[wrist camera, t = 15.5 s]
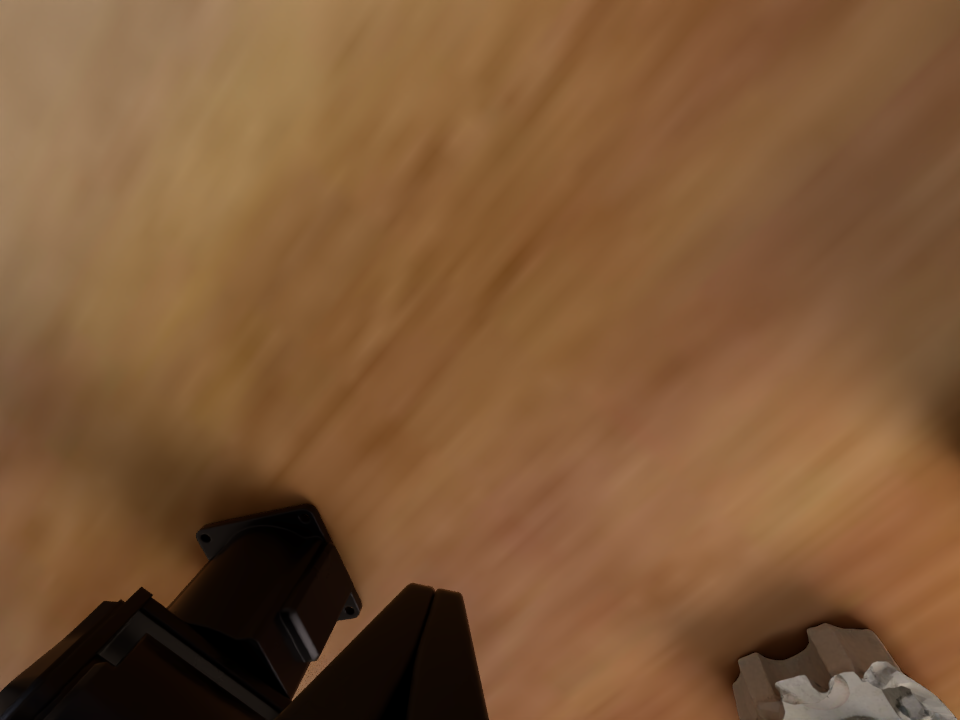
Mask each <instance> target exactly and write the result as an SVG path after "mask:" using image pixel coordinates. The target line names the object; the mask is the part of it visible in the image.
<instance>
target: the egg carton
mask: <svg viewBox="0 0 960 720" xmlns="http://www.w3.org/2000/svg"><path fill="white" fill-rule="evenodd" d="M807 634H808V638H809V644H808V646H807V647H806V649H805V650H804V651H802V652H800V653H799V654H797V655H795V656H793V657H791V658H788V659H786V660H772V659H768V658H765V657H763V656H762V655H760V654H759V653H752V654H750V655H748V656H745V657H743V658H740V659H739V660H738V664H739V667H740V672H741V673H740V675H739V677H738V679H737V681H736V682H734V683H733V692H734V697H735V700H736V706H737V711H738V715H739V719H740V720H957V719H956V717H955V716H954V715H953V714H952V713H951V711H950V710H949V709H948V708H947V707H946V706H945V705H944V704H943V703H942V702H941V700H940V699H939V698H938V697H937V696H935V695H934V694H933V693H931V692H930V691H929V690H927V689H926V688H925V687H923V686H922V685H920V684H918V683H917V682H915V681H914V680H912V679H911V678H910V677H907V676H906V675H904V674H903V673H902V671H901V670H900V668H899V667H898V665H897V664H896V662H895V661H894V659H893V658H892V656H891V655H890V654H889V652H888V651H887V649H886V648H885V646H884V645H883V643H882V642H881V641H880V639H879V638H878V637H877V635H876V634H875V633H874V632H873V631H871V630H870V629H864V630H860V629H843V628H839V627H836V626H833V625H831V624H827V623H823V624H821V625H819V626H817V627H812V628H809V629H807Z"/></svg>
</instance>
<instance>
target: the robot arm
mask: <svg viewBox="0 0 960 720" xmlns="http://www.w3.org/2000/svg"><path fill="white" fill-rule="evenodd" d="M304 514H306V515H308V516H309V517H306V516H305V515H304ZM196 538H197V541H198V542H199V544H200V546H201V548H202V549H203V551H204V553H205V555H206V556H207V558H208V560H209V561H208V562H207V564H206V565H205V566H204V567H203V568H202V569H201V570H200V571H199V573H198V574H197V575H196V576H195V577H194V578H193V579H192V580H191V582H190V583H189V584H188V585H187V586H186V587H185V588H184V589H183V590H182V592H181V593H180V594H179V595H178V596H177V597H176V598H175V599H174V601H173V602H172V603H171V604H170V605H169V606H168V607H167V608H165V607H164V606H162V605H161V604H160V603H158V602H157V601H156V600H154V599H153V598H152V596H153V595H152V594H151V593H150V592H148V591H147V590H146V589H144V588H143V587H141V588H140V589H139V590H138V591H136V592H135V593H134V594H133V595H132V596H131V597H130V598H129V599H128V600H127V601H126V602H124V601H123V600H119V601H118V602H110V601H103V602H102V603H101V604H100V605H99V606H98V607H97V608H96V609H95V610H94V611H93V612H92V613H91V614H90V615H89V616H88V617H87V618H86V619H85V620H83V621H82V622H81V623H80V624H79V625H78V626H77V627H76V628H75V629H74V630H73V631H72V632H71V633H70V634H68V635H67V636H66V637H65V638H64V639H63V640H62V641H60V642H59V643H58V644H57V645H56V646H54V647H53V648H52V649H51V650H49V651H48V652H47V653H46V654H44V655H43V656H42V657H41V658H40V659H38V660H37V661H36V662H35V663H33V664H32V665H31V666H30V667H28V668H27V669H26V670H25V671H24V672H22V673H21V674H20V675H19V676H17V677H16V678H15V679H14V680H13V681H11V682H10V683H9V684H8V685H7V686H6V687H5V688H4V689H3V690H2V691H1V692H0V720H489V718H488V713H487V708H486V704H485V699H484V694H483V689H482V685H481V680H480V675H479V671H478V666H477V661H476V657H475V652H474V647H473V642H472V638H471V633H470V628H469V624H468V619H467V614H466V609H465V605H464V600H463V596H462V595H461V593H459V592H455V591H450V590H445V589H437V590H436V592H435V590H434V588H433V587H430V586H425V585H420V584H415V583H411V584H409V585H407V586H406V587H405V588H404V589H403V590H402V591H401V592H400V593H399V594H398V595H397V596H396V597H395V598H394V599H393V600H392V601H391V602H390V603H389V604H388V605H387V606H386V607H385V608H384V609H383V610H382V611H381V612H380V613H379V614H378V615H377V616H376V617H375V618H374V619H373V620H372V621H371V622H370V624H369V625H368V626H367V627H366V628H365V629H364V630H363V631H362V632H361V633H360V634H359V635H358V636H357V637H356V638H355V639H354V640H353V641H352V642H351V643H350V644H349V645H348V646H347V647H346V648H345V649H344V650H343V651H342V652H341V653H340V654H339V655H338V656H337V657H336V658H335V659H334V660H333V661H332V662H331V663H330V664H329V665H328V666H327V667H326V668H325V669H324V670H323V671H322V672H321V673H320V674H319V675H318V676H317V677H316V678H315V679H314V680H313V681H312V682H311V683H310V684H309V685H308V686H307V687H306V688H305V689H304V690H303V691H302V692H301V693H300V694H299V695H298V696H297V697H296V698H295V699H294V700H293V701H291V700H292V698H293V696H294V694H295V692H296V690H297V688H298V686H299V684H300V682H301V680H302V678H303V676H304V674H305V672H306V670H307V668H308V666H309V664H310V662H311V661H317V659H318V658H319V656H320V654H321V652H322V650H323V648H324V646H325V644H326V642H327V640H328V638H329V636H330V634H331V632H332V630H333V628H334V626H335V624H336V622H337V621H339V620H346V619H352V618H356V617H357V616H358V615H359V613H360V611H361V609H362V603H361V601H360V598H359V596H358V594H357V592H356V590H355V588H354V586H353V583H352V581H351V579H350V577H349V575H348V572H347V570H346V568H345V566H344V564H343V562H342V560H341V558H340V556H339V554H338V552H337V549H336V547H335V546H334V544H333V542H332V540H331V538H330V536H329V534H328V532H327V529H326V527H325V525H324V523H323V521H322V519H321V517H320V515H319V513H318V511H317V509H316V508H315V507H314V506H312V505H310V504H302V505H297V506H292V507H287V508H283V509H278V510H273V511H268V512H264V513H259V514H254V515H250V516H245V517H240V518H235V519H231V520H226V521H221V522H216V523H212V524H207V525H204V526H203V527H202V528H201V529H200V530H199V531H198V532H197V533H196ZM351 607H352V608H351Z"/></svg>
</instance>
